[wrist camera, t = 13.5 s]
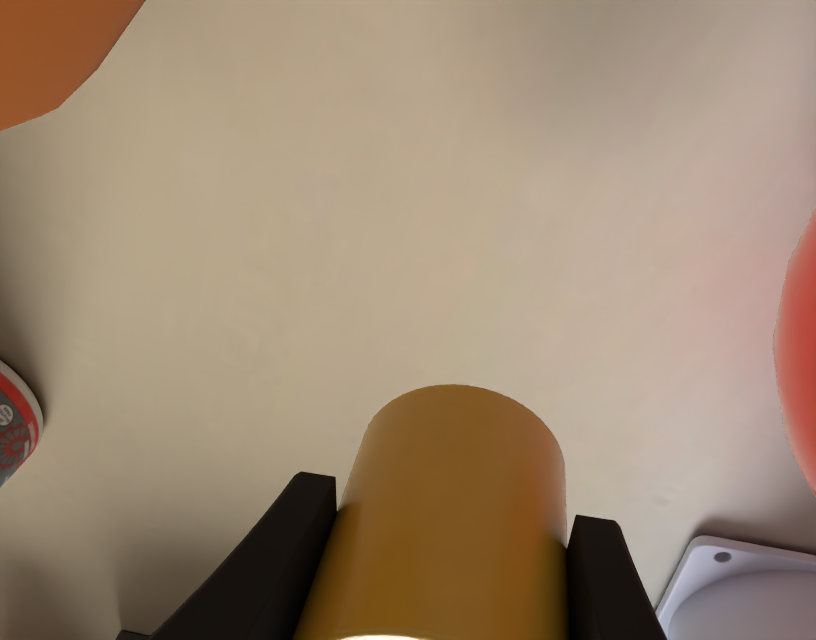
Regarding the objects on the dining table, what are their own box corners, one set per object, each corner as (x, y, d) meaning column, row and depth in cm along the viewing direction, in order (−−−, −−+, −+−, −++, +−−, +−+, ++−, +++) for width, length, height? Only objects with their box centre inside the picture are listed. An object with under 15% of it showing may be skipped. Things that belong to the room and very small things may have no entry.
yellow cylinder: (580, 397, 12) (599, 667, 7) (549, 547, 14) (549, 824, 10) (361, 369, 12) (264, 605, 8) (363, 517, 14) (287, 766, 10)
